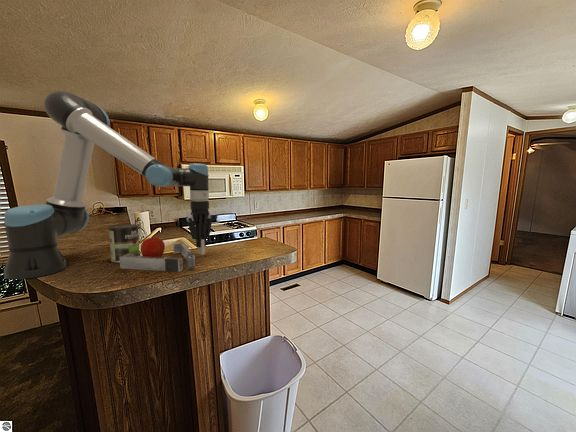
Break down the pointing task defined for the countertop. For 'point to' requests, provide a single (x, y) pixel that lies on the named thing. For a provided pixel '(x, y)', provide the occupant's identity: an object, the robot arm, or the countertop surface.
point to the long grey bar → (155, 263)
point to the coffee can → (123, 241)
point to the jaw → (183, 250)
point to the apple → (152, 247)
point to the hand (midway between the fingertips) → (201, 253)
